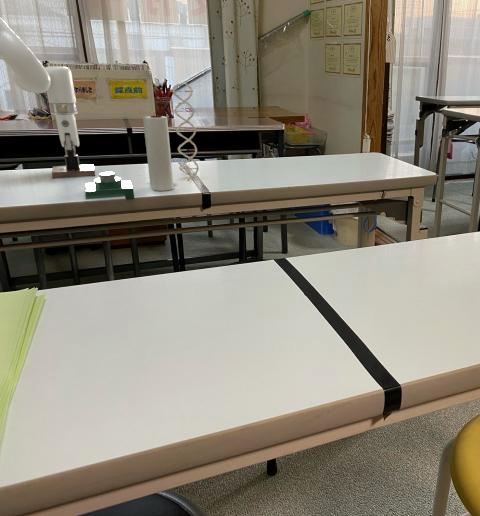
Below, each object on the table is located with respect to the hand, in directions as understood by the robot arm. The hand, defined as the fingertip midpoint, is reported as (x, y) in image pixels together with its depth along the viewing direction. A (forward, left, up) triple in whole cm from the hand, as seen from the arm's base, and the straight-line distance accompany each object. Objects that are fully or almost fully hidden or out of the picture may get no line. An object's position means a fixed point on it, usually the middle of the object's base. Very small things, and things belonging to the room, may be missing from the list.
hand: (73, 167), depth 165 cm
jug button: (+9, -30, +1) cm, 31 cm away
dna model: (+34, -14, -4) cm, 37 cm away
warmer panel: (0, 0, -3) cm, 3 cm away
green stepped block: (+9, -30, -3) cm, 32 cm away
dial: (0, 0, 0) cm, 0 cm away
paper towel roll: (+24, -25, -4) cm, 35 cm away
